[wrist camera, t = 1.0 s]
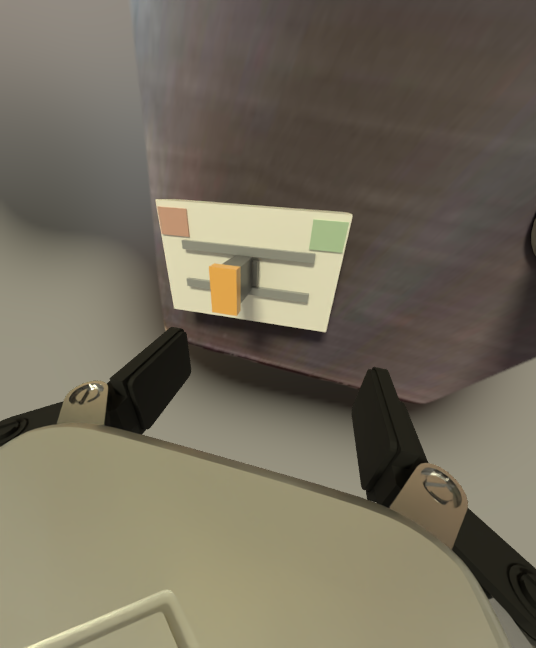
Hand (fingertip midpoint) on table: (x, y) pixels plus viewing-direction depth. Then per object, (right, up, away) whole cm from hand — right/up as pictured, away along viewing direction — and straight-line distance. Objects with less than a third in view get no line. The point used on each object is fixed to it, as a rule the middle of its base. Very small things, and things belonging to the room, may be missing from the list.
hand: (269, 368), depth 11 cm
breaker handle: (-3, +9, +16) cm, 18 cm away
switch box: (-2, +11, +20) cm, 23 cm away
